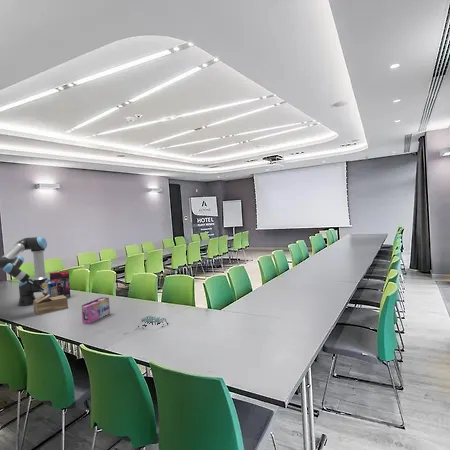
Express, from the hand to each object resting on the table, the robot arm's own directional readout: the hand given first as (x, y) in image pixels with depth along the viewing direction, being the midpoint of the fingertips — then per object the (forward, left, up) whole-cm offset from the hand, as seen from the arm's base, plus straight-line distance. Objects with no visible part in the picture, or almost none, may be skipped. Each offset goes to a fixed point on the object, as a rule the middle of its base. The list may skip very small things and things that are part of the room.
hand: (46, 291), depth 273 cm
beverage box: (-17, +7, -17) cm, 25 cm away
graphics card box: (-34, +20, -17) cm, 43 cm away
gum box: (+59, +21, -17) cm, 65 cm away
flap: (0, -3, -5) cm, 6 cm away
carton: (0, +3, -17) cm, 17 cm away
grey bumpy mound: (+111, +35, -18) cm, 118 cm away
